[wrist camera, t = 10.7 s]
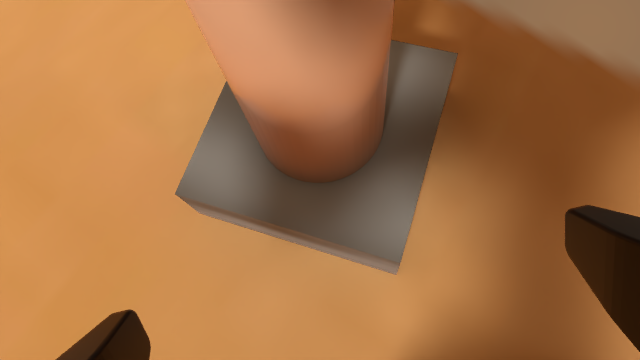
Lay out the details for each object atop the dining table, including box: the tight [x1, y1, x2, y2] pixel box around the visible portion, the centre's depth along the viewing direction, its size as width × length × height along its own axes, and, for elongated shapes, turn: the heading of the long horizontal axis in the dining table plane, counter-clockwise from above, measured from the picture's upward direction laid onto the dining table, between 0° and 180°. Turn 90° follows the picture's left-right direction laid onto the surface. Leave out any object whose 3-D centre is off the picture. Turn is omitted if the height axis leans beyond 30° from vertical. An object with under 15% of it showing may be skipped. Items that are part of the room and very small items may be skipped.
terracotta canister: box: [185, 0, 394, 183], centre depth 14 cm, size 6×6×13 cm
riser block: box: [175, 40, 458, 275], centre depth 21 cm, size 10×10×3 cm
